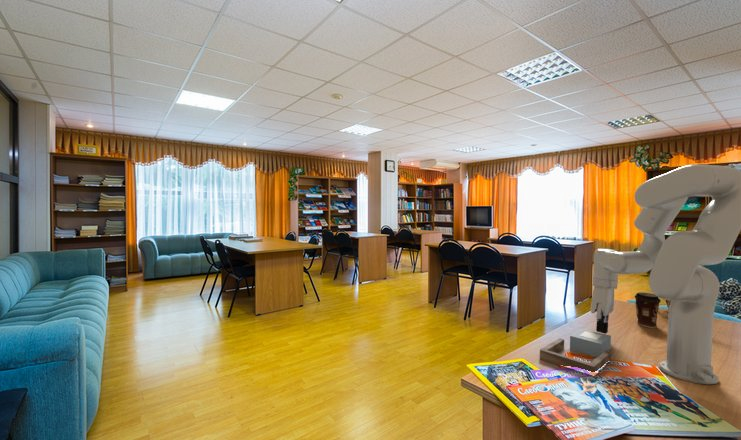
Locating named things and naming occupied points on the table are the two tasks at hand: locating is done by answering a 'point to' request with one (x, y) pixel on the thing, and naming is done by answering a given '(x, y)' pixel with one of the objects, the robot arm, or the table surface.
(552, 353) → the display bay
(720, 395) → the table surface
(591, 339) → the carton
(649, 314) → the coffee cup
